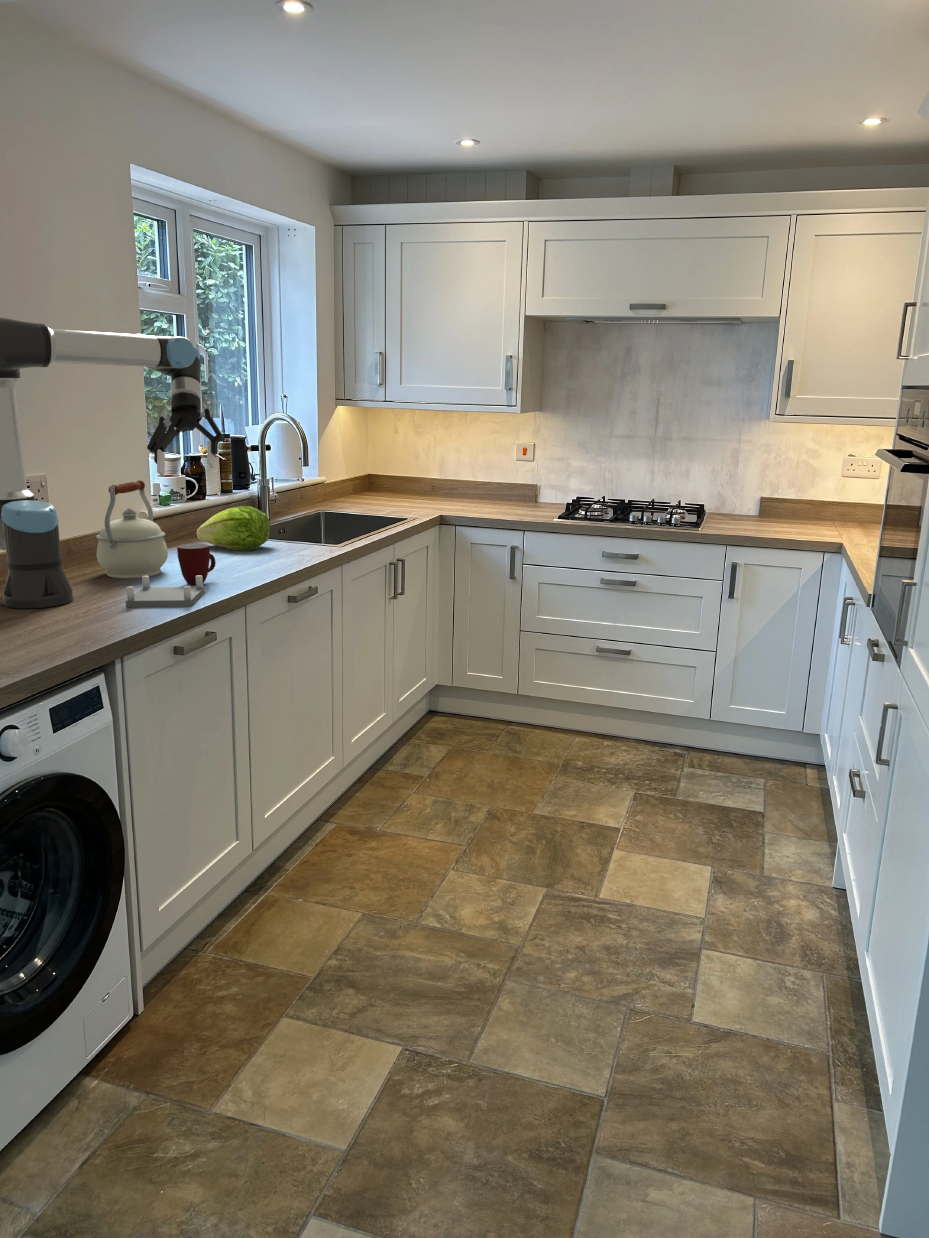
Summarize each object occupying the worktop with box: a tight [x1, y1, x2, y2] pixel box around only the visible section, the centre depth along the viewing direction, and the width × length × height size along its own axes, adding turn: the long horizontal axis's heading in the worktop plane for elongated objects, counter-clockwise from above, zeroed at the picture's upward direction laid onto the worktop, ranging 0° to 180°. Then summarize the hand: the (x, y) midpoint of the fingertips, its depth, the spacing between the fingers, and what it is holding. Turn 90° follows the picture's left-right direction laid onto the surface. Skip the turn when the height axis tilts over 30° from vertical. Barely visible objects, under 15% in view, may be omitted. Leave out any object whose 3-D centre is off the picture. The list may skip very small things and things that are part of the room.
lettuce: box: [196, 505, 271, 552], centre depth 295 cm, size 14×24×15 cm
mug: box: [176, 543, 216, 587], centre depth 242 cm, size 11×8×10 cm
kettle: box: [96, 479, 169, 580], centre depth 253 cm, size 25×18×25 cm
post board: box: [125, 575, 206, 608], centre depth 223 cm, size 15×15×4 cm
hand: (185, 470), depth 239 cm, fingers open, 13 cm apart
